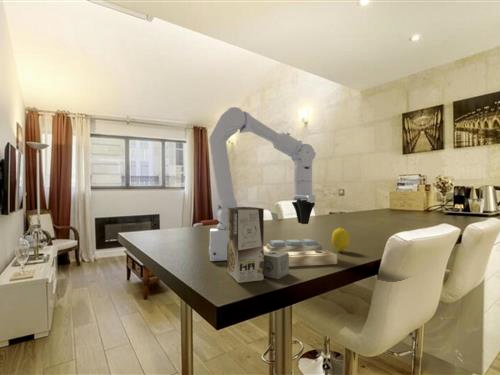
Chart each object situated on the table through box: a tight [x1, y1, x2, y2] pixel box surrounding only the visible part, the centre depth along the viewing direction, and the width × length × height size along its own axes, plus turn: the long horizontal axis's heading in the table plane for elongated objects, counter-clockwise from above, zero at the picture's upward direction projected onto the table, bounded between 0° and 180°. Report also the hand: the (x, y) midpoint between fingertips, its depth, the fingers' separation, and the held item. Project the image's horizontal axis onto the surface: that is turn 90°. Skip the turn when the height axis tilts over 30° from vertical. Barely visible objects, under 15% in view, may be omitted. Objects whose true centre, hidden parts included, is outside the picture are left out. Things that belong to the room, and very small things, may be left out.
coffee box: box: [226, 206, 265, 284], centre depth 63 cm, size 9×6×16 cm
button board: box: [264, 243, 338, 267], centre depth 79 cm, size 18×15×4 cm
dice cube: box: [264, 251, 290, 280], centre depth 65 cm, size 5×5×5 cm
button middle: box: [285, 239, 302, 246], centre depth 81 cm, size 4×4×2 cm
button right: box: [301, 238, 318, 246], centre depth 82 cm, size 4×4×2 cm
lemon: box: [331, 227, 350, 253], centre depth 88 cm, size 6×6×8 cm
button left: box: [269, 239, 286, 247], centre depth 80 cm, size 4×4×2 cm
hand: (303, 223), depth 87 cm, fingers open, 2 cm apart
